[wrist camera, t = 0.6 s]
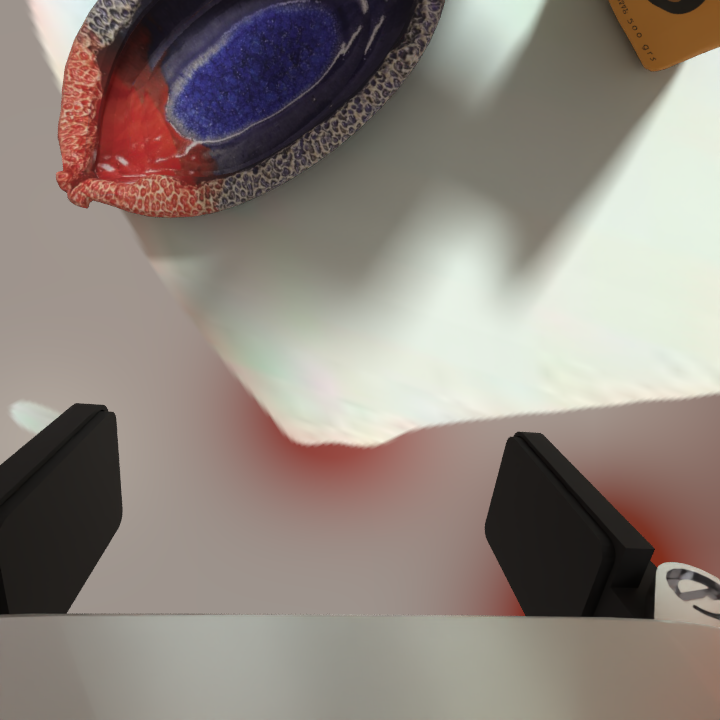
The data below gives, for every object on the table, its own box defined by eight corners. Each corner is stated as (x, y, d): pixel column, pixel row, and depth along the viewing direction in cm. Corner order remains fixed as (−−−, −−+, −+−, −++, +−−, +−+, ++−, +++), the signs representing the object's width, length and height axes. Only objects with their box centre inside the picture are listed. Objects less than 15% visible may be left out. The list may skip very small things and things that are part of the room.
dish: (473, 73, 34) (498, 52, 29) (146, 269, 37) (121, 279, 32) (381, -169, 29) (394, -241, 24) (7, 80, 31) (-48, 58, 27)
